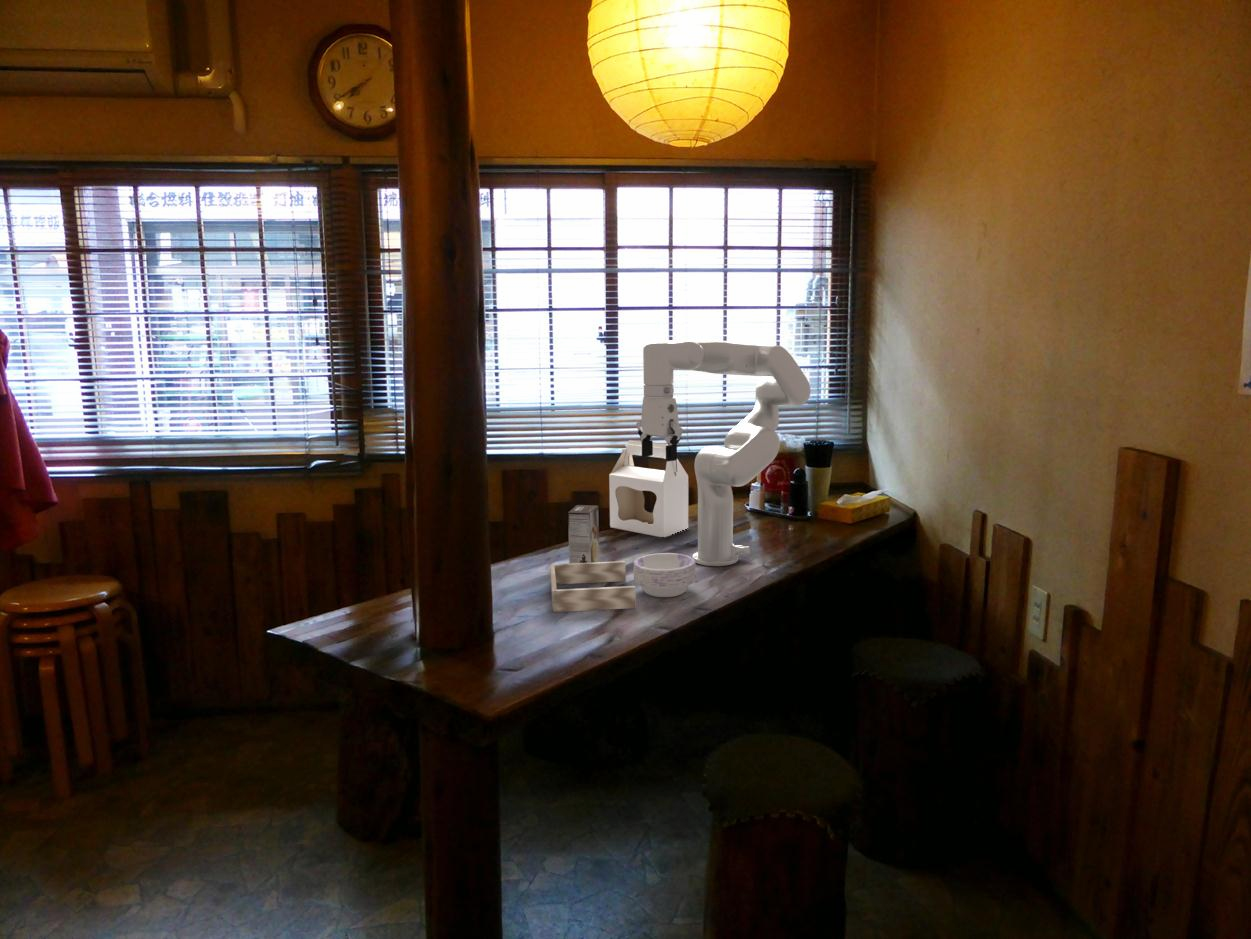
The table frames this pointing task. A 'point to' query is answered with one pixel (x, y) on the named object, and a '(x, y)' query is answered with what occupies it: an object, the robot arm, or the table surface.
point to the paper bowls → (664, 573)
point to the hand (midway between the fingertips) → (659, 458)
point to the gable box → (635, 480)
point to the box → (590, 596)
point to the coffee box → (583, 534)
